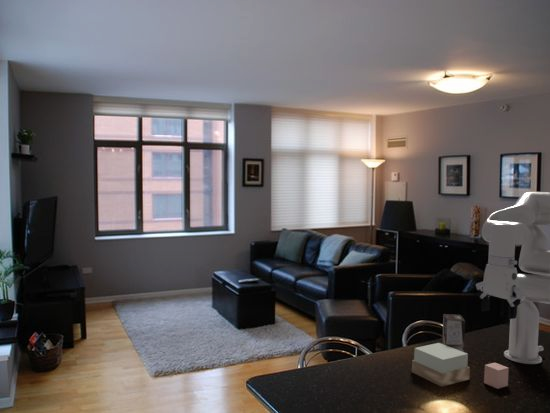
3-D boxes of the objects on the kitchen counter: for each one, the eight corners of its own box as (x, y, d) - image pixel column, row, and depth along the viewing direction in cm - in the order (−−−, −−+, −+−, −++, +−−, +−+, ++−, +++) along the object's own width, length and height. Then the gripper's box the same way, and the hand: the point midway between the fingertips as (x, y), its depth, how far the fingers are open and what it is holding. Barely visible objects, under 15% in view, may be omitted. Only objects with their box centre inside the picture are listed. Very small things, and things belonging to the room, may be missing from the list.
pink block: (494, 380, 160) (494, 362, 160) (507, 386, 156) (508, 367, 155) (483, 383, 158) (484, 364, 157) (497, 388, 153) (498, 370, 153)
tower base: (438, 367, 171) (439, 354, 171) (469, 380, 160) (469, 367, 160) (411, 373, 165) (412, 360, 165) (441, 387, 154) (441, 374, 154)
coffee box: (463, 366, 172) (465, 321, 171) (444, 364, 173) (446, 319, 172) (459, 357, 181) (461, 314, 180) (441, 355, 182) (443, 313, 181)
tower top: (438, 355, 170) (438, 342, 170) (467, 367, 160) (467, 353, 160) (414, 361, 164) (414, 348, 164) (442, 373, 154) (443, 359, 154)
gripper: (533, 265, 149) (530, 320, 150) (485, 257, 164) (483, 307, 165) (518, 266, 145) (515, 323, 146) (470, 258, 161) (468, 309, 161)
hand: (498, 314), depth 155 cm, fingers open, 9 cm apart
